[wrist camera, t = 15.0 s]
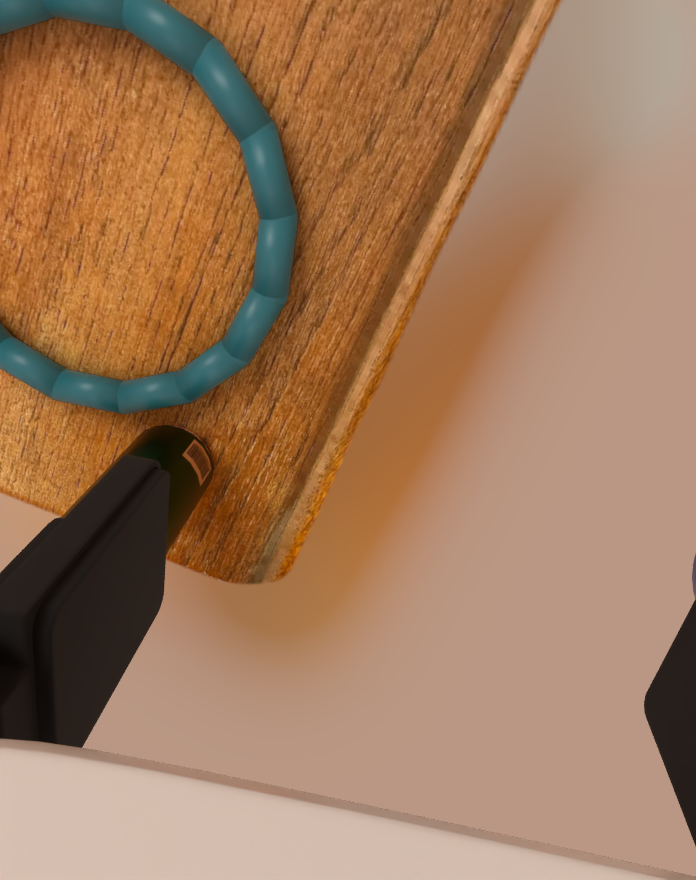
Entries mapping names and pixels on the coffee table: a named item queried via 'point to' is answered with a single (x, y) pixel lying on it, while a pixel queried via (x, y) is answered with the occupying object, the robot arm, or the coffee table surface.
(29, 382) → the ring
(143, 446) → the beer can
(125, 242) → the coffee table surface
